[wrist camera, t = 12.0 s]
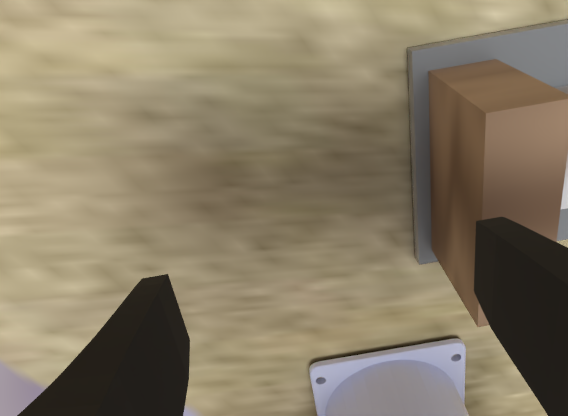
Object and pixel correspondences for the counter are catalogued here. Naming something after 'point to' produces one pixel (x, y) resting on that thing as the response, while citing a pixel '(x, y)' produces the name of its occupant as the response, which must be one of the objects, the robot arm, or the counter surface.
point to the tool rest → (499, 45)
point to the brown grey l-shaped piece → (493, 161)
